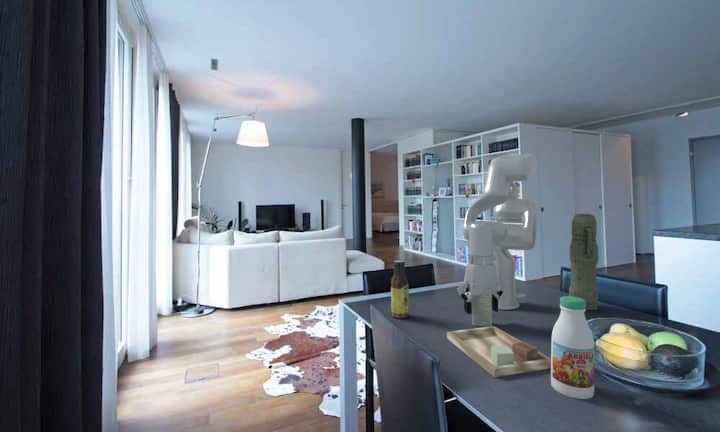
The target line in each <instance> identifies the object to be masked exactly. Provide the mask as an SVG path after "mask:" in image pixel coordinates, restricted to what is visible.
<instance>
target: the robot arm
mask: <svg viewBox="0 0 720 432" xmlns="http://www.w3.org/2000/svg"><path fill="white" fill-rule="evenodd" d="M537 169H538V159H537V157H536V155H535V154H534V153H522V154H511V155H509V154H508V155H501V156H497V157H494V158H492V159H491V160H490V163H489V165H488V168H487V172H486V177H485V183H484V188H483V192H482V195H481V196H479V197H478V198H477V199H476V200H474V201H473V202H472V203H471V205H470V206H469V207H468V209H467V210H466V212H465V216H464V221H463V225H462V236H463V238H464V239H465V240H466V241H468V244H469V245H468V247H469V249H468V252H469V255H468V260H469V261H468V263H467V264H466V266H465V270H464V279H463V283H462V284H461V285H459V286H458V287H456V291H457V293H458V296H459V297H460V298H461V299H462V301H463V310H464V312H465V313H466V314H468V315H472V298H473V296H481V295H484V293H485V290H491V296H492V312H496V313H497V312H499V310H504V311H505V310H506V311H509V310H510V311H511V310H517V309H519V308H520V302H519V300H525V299H526V297H527V296H526V294H525V293H522V294H521V293H519V294H518V293H517V292H516V261H515V257H514V256H513V255H512V253H511V252H510V251H509V250H516V251H531V250H533V249H534V248H535V247H536V243H537V237H538V236H537V235H538V227H539V226H538V224H539V206H538V202H536V201H537V200H534V199H532V198H519V195H520V188H519V186H518V185H517V184H516V183H515V182H526V181H528V180H529V179H531V178H533V176H534V174H535V173H536V171H537ZM492 209H493V213H492V214H493V215H492V216H493V219H494V220H492V221H491V220H477V218H478V217H479V216H480V215H481V214H483V213H484V212H486V211H488V210H492Z"/></svg>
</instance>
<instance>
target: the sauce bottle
mask: <svg viewBox="0 0 720 432" xmlns="http://www.w3.org/2000/svg"><path fill="white" fill-rule="evenodd" d="M405 266H406V261H405V260H399V259H398V260H394V261H393V267H394V268H393V270H394V272H393V276H392V277H391V280H390V286H391V287H390V298H391V299H390V300H391V301H390V305H391V308H390V309H391V316H392V318H393V317H394V318H395V319H405V318H408V317H409V315H410V313H409V312H410V308H409V307H410V305H409V304H410V300H409V296H410V295H409V293H410V292H409V281H408V278H407V275H406V270H405Z"/></svg>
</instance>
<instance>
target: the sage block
mask: <svg viewBox="0 0 720 432" xmlns="http://www.w3.org/2000/svg"><path fill="white" fill-rule="evenodd" d="M491 363H492V364H493V365H495V366H502V365H508V364H514V353H513V352H512V351H511V350H510V349H509V348H508V346H491Z"/></svg>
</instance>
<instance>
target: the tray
mask: <svg viewBox="0 0 720 432" xmlns="http://www.w3.org/2000/svg"><path fill="white" fill-rule="evenodd" d="M446 339H447V340H448V341H450V342H451V343H452V344H453V345H454V346H455V347H457V348H458V349H460V350H461V351H462V352H463V353H464V354H466V356H468V357H469V358H470V359H472V360H473V361H474V362H475V363H476V364H478V366H480V367H482V369H484V370H485V371H486V372H487V373H489V374H490V375H491V376H492V377H493V378H499V377H505V376H511V375H517V374H523V373H529V372H530V373H531V372H535V371H541V370H546V369H547V370H548V369H551V357H549V356H547V355H546V354H544V353H542V352H541V351H539V350H538V360H533V361H527V362H520V363H517V362H515V361H514V364H508V365H502V366H495V365H493V364H492V363H491V346H508V348H509V349H510V350H511V351H512V345H513V344H517V343H521V342H522V341H521V340H519V339H518V338H516V337H515V336H512V335H511V334H509V333H507V332H505V331H504V330H502V329H500V328H499V327H497V326H496V325H492V326H490V327H485V326H481V327H477V328H476V327H475V328H468V329H467V328H466V329H459V330H452V331H451V330H450V331H446Z"/></svg>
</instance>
